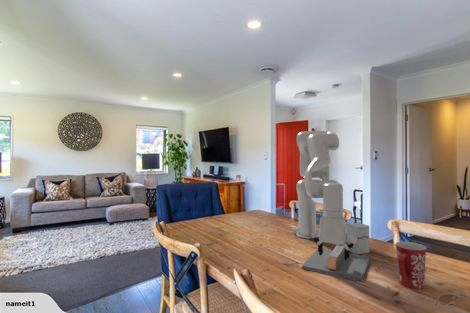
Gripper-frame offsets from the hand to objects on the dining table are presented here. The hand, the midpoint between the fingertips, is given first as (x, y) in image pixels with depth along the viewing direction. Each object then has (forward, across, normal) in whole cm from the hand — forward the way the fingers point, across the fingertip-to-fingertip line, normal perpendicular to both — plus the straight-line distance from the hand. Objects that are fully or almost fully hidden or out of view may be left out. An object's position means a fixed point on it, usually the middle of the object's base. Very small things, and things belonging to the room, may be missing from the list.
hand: (333, 256), depth 108 cm
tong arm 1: (+3, 0, +4) cm, 5 cm away
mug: (+5, +25, -2) cm, 26 cm away
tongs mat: (+5, 0, +6) cm, 7 cm away
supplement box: (+5, +5, +26) cm, 27 cm away
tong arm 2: (+3, +1, +4) cm, 5 cm away
